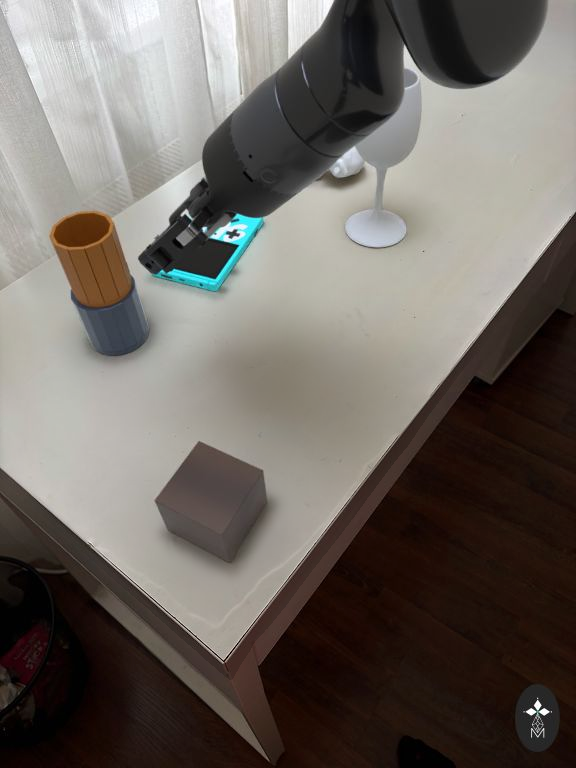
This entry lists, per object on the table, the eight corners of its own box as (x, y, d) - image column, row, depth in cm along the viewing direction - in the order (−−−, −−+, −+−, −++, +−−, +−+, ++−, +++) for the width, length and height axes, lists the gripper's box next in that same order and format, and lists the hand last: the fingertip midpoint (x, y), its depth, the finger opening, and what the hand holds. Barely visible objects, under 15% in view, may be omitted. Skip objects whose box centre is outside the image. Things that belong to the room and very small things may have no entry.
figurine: (278, 123, 88) (355, 116, 84) (301, 127, 96) (373, 122, 91) (280, 181, 91) (355, 178, 86) (303, 181, 99) (372, 178, 94)
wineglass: (410, 215, 86) (434, 64, 69) (401, 252, 81) (423, 98, 64) (352, 207, 87) (361, 57, 71) (339, 243, 82) (345, 90, 66)
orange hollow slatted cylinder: (107, 314, 64) (85, 256, 58) (62, 296, 66) (36, 238, 60) (143, 279, 67) (125, 220, 61) (99, 263, 70) (78, 205, 63)
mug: (139, 358, 70) (123, 313, 64) (81, 353, 71) (60, 307, 65) (162, 300, 76) (150, 253, 70) (109, 295, 77) (92, 249, 71)
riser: (229, 563, 54) (221, 535, 49) (167, 530, 56) (154, 500, 51) (267, 501, 58) (263, 470, 53) (207, 473, 60) (198, 440, 55)
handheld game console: (265, 222, 86) (265, 214, 85) (217, 293, 77) (216, 285, 76) (204, 208, 88) (203, 201, 87) (150, 275, 79) (148, 268, 78)
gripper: (279, 63, 47) (179, 168, 59) (192, 153, 38) (96, 254, 50) (340, 138, 49) (232, 224, 61) (270, 238, 41) (162, 314, 53)
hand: (171, 237), depth 56 cm, fingers open, 8 cm apart
